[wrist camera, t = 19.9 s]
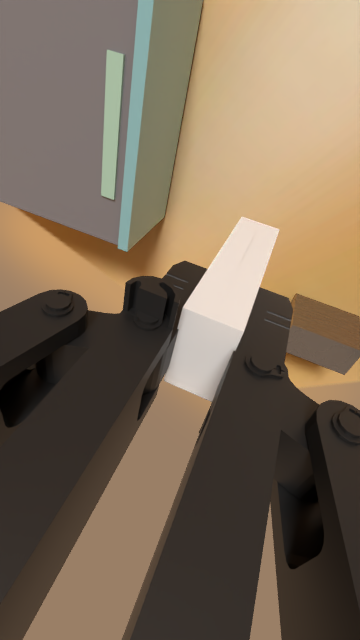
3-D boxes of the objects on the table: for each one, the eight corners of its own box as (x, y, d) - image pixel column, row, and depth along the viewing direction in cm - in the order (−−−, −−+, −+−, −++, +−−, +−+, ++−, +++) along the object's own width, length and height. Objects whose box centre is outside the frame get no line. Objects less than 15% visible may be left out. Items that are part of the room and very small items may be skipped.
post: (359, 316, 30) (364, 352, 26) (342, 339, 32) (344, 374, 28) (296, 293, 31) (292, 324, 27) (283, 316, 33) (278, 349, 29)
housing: (191, -10, 21) (139, -39, 15) (156, 212, 31) (116, 246, 25) (-21, -64, 23) (-138, -108, 17) (10, 161, 33) (-58, 181, 27)
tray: (204, -7, 20) (157, -35, 15) (164, 216, 30) (127, 252, 25) (-11, -62, 22) (-125, -105, 17) (17, 164, 32) (-49, 186, 27)
